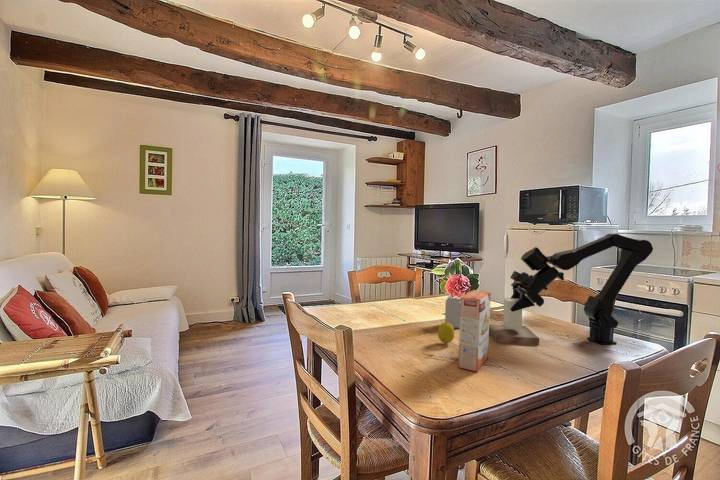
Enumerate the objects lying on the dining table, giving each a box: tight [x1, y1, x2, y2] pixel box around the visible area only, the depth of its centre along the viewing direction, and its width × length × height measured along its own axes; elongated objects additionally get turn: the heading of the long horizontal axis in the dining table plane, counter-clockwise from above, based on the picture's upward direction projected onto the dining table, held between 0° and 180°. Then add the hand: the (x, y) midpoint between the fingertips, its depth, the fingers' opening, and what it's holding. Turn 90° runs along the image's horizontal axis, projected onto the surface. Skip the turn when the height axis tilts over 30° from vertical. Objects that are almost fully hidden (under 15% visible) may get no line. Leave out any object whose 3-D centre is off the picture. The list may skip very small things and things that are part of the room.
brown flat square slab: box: [489, 323, 540, 346], centre depth 129 cm, size 14×14×3 cm
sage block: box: [502, 297, 523, 329], centre depth 129 cm, size 5×5×10 cm
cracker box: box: [457, 289, 492, 373], centre depth 105 cm, size 14×6×21 cm, turn 148°
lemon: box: [437, 321, 455, 345], centre depth 121 cm, size 6×6×8 cm
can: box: [444, 295, 461, 329], centre depth 142 cm, size 8×8×12 cm
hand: (509, 308), depth 129 cm, fingers closed on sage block, 5 cm apart
